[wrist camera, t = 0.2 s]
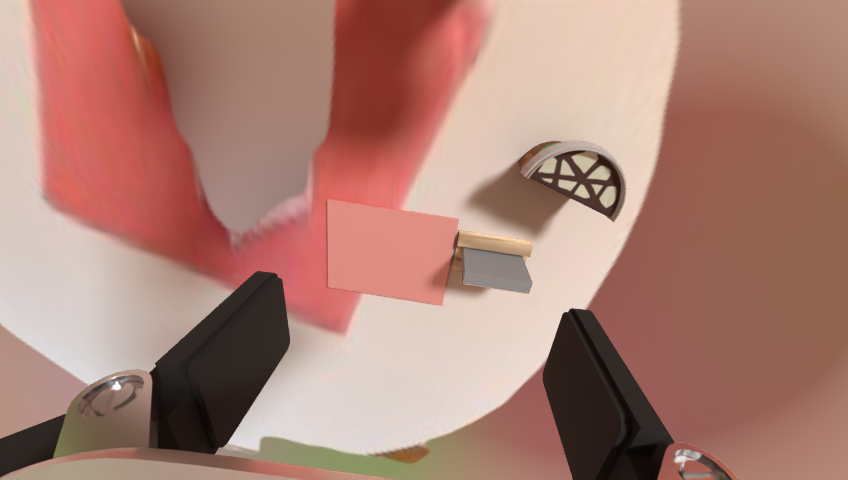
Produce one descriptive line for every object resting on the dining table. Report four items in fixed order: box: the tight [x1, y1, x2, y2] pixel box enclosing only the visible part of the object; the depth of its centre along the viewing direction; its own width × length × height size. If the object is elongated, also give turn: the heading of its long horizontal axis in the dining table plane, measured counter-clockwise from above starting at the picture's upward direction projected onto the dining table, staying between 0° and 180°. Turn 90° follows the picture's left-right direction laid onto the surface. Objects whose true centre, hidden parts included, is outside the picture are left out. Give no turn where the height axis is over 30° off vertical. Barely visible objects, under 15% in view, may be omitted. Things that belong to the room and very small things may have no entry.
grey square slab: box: [461, 247, 532, 294], centre depth 46 cm, size 2×9×8 cm, turn 83°
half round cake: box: [519, 141, 626, 222], centre depth 38 cm, size 12×6×10 cm, turn 65°
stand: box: [453, 230, 533, 271], centre depth 49 cm, size 6×11×2 cm, turn 83°
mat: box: [327, 199, 458, 305], centre depth 51 cm, size 16×20×1 cm
